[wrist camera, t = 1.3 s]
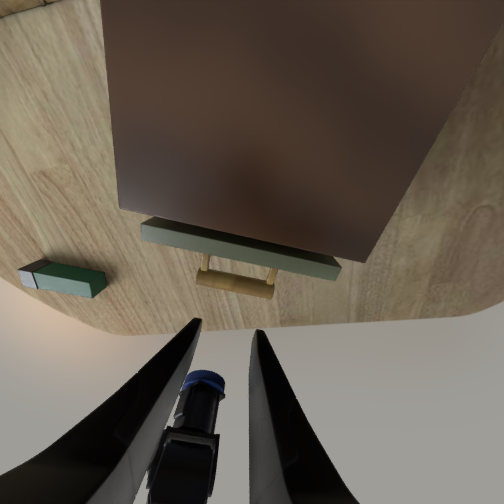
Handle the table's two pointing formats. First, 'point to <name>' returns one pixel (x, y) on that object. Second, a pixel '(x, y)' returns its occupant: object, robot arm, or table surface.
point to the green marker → (62, 278)
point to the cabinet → (285, 109)
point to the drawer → (238, 256)
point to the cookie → (20, 5)
